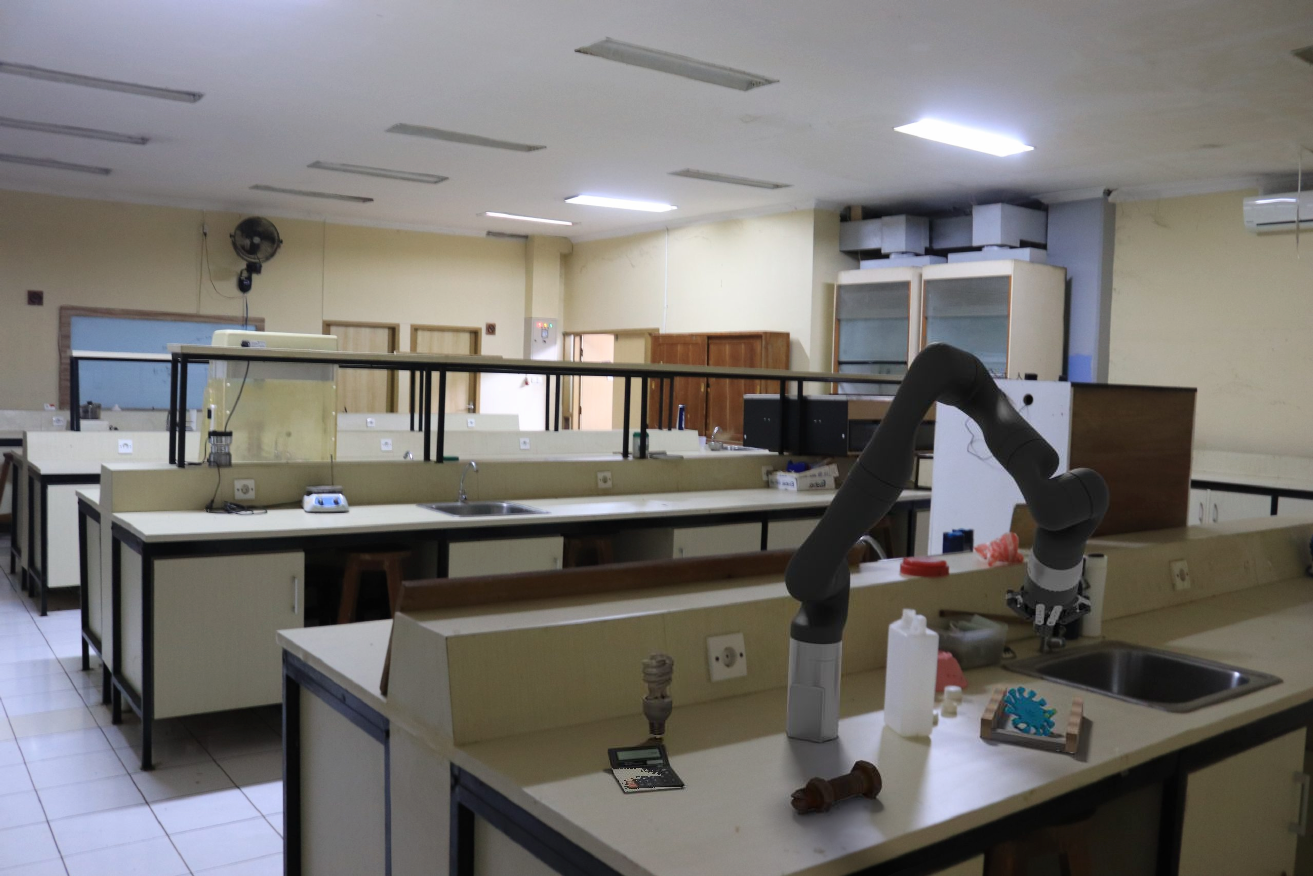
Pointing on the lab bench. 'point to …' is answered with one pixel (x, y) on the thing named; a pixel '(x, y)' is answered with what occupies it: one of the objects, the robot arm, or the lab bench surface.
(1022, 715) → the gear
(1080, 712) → the chute
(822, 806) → the bolt
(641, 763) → the calculator
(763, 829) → the lab bench surface
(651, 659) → the light bulb
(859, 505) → the robot arm
